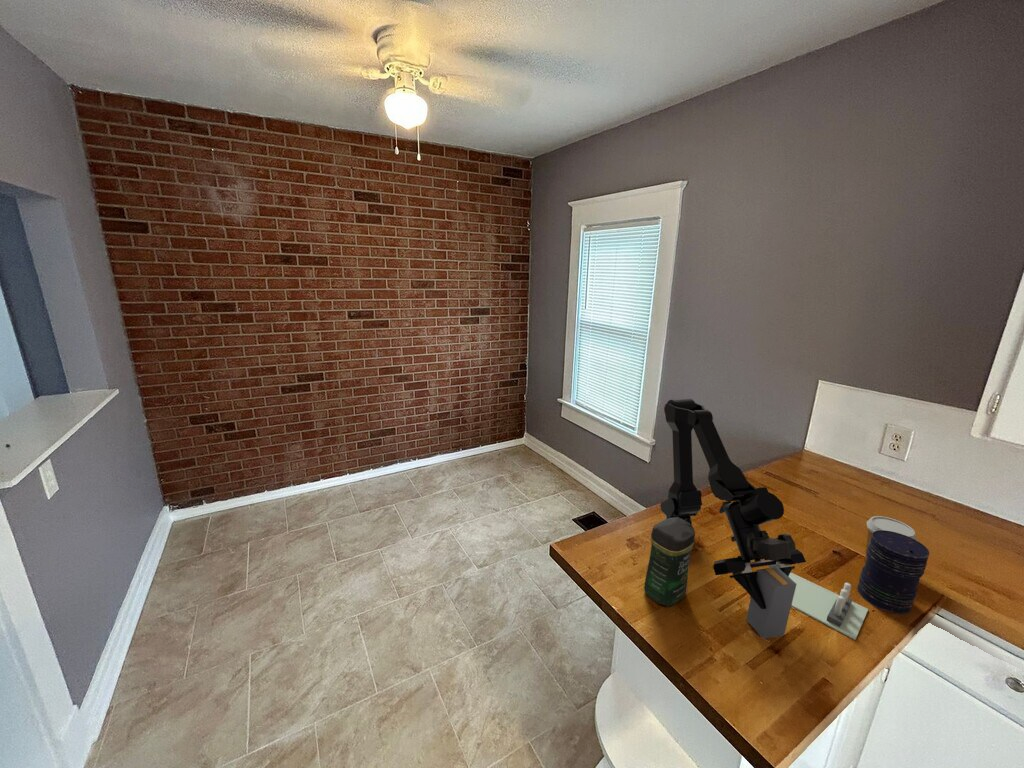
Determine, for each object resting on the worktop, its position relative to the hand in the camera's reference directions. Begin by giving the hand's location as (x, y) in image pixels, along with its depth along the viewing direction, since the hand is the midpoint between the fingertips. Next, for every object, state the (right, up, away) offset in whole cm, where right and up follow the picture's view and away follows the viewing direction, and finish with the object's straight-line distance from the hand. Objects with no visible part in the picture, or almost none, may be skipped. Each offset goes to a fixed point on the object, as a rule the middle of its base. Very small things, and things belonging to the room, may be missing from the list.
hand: (775, 607), depth 87 cm
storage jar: (+33, -4, +12) cm, 35 cm away
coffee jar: (-18, -3, +12) cm, 22 cm away
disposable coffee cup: (+41, -1, +22) cm, 47 cm away
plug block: (0, -6, +3) cm, 7 cm away
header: (+15, -4, +11) cm, 19 cm away
